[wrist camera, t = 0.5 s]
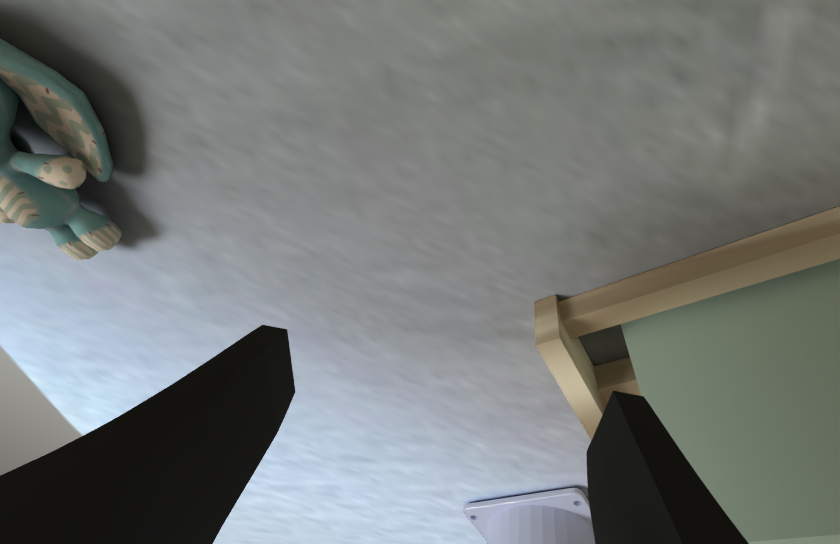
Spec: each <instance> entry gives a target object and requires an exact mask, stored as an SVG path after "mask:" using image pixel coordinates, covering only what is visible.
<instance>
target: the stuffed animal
mask: <svg viewBox="0 0 840 544" xmlns="http://www.w3.org/2000/svg"><path fill="white" fill-rule="evenodd" d="M18 95H19V96H18ZM19 97H20V99H21V100H22V102H23V103H24V105H25V107H26V108H27V110H28V111H29V113H30V114H31V116H32V117H33V119H34V120H35V122H36V123H37V125H38V126H39V127H40V128H41V129H43V130H44V131H45V132H46V133H47V134H48V135H49V136H51V137H52V138H53V139H54V140H55V141H56V142H57V143H59V144H60V145H61V146H62V147H63V148H64V149H65V150H67V151H68V152H69V153H70V154H71V155H72V156H73V157H74V158H72V157H69V156H63V155H48V154H31V153H26V152H20V151H18V150H17V149H16V148H15V147H14V145H13V144H12V142H11V140H10V130H11V127H12V125H13V122H14V120H15V117H16V113H17V109H18V104H19V100H20V99H19ZM86 169H87V170H88V171H89V172H90V173H91V174H92V175H93V176H94V177H95V178H96V179H97V180H99V181H100V182H103V181H108V179H109V178H110V176H111V174H112V171H113V162H112V158H111V154H110V150H109V147H108V143H107V139H106V135H105V132H104V129H103V127H102V125H101V123H100V122H99V120H98V118H97V116H96V114H95V112H94V110H93V108H92V106H91V105H90V103H89V101H88V99H87V97H86V95H85V93H84V92H83V91H82V90H80V89H79V88H78V87H76V86H75V85H74V84H72V83H71V82H70V81H68V80H67V79H65V78H64V77H63V76H62V75H61V74H60V73H59V72H57V71H56V70H54V69H52V68H50V67H49V66H47V65H45V64H43V63H42V62H40V61H38V60H36V59H34V58H33V57H31V56H29V55H27V54H26V53H24V52H22V51H21V50H19V49H17V48H16V47H14V46H12V45H10V44H9V43H7V42H5V41H4V40H2V39H0V223H17V224H19V225H20V226H22V227H25V228H36V229H46V230H47V231H49V232H50V233H51V235H52V237H53V239H54V241H55V243H56V244H57V246H58V247H60V248H61V249H62V250H63V251H64V252H65V253H67V254H68V255H70V256H71V257H73V258H75V259H76V260H83V259H90V258H91V257H93V256H94V255H96V254H97V253H98V252H99V251H102V250H109V249H111V248H112V247H114V246H115V245H116V244H118V242H119V240H120V238H121V235H122V231H121V230H120V229H119V228H118V227H117V226H116V225H115V224H114V223H113V222H112V221H110V220H109V219H107V218H106V217H104V216H103V215H100V214H98V213H96V212H93V211H91V210H89V209H87V208H85V207H83V206H82V205H80V196H79V194H78V192H77V190H76V189H75V188H77V187H80V185H81V184H82V183H83V182H84V180H85V179H86Z"/></svg>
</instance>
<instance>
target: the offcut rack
mask: <svg viewBox="0 0 840 544" xmlns="http://www.w3.org/2000/svg"><path fill="white" fill-rule="evenodd" d="M837 259H840V206H839V207H836V208H833V209H830V210H827V211H824V212H821V213H818V214H815V215H813V216H810V217H807V218H804V219H801V220H798V221H795V222H792V223H789V224H786V225H783V226H780V227H777V228H774V229H771V230H768V231H765V232H762V233H759V234H756V235H754V236H751V237H748V238H745V239H742V240H739V241H736V242H733V243H730V244H727V245H724V246H721V247H718V248H715V249H712V250H709V251H706V252H703V253H700V254H697V255H695V256H692V257H689V258H686V259H683V260H680V261H677V262H674V263H671V264H668V265H665V266H662V267H659V268H656V269H653V270H650V271H647V272H644V273H641V274H638V275H635V276H633V277H630V278H627V279H624V280H621V281H618V282H615V283H612V284H609V285H606V286H603V287H600V288H597V289H594V290H591V291H588V292H585V293H582V294H579V295H576V296H574V297H571V298H568V299H565V300H562V301H559V300H558V299H557V297H556V295H553V296H550V297H547V298H544V299H542V300H539V301H536V302H534V307H535V343H536V347H537V349H538V350H539V352H540V354H541V355H542V357H543V359H544V361H545V362H546V364H547V366H548V367H549V369H550V371H551V372H552V374H553V376H554V378H555V379H556V381H557V383H558V384H559V386H560V388H561V389H562V391H563V393H564V394H565V396H566V398H567V400H568V401H569V403H570V405H571V406H572V408H573V410H574V411H575V413H576V415H577V417H578V418H579V420H580V422H581V423H582V425H583V427H584V428H585V430H586V432H587V434H588V435H589V437H590V439H591V440H592V438H593V436H594V434H595V431H596V429H597V427H598V424H599V422H600V420H601V417H602V415H603V413H604V410H605V408H606V406H607V403H608V401H609V399H610V396H611V394H612V391H618V392H623V393H629V394H634V395H639V396H641V393H640V390H639V386H638V383H637V379H636V376H635V373H634V369H633V366H632V362H631V359H630V357H627V358H623V359H620V360H616V361H612V362H608V363H605V364H601V365H597V366H593V364H592V362H591V360H590V358H589V357H588V355H587V353H586V351H585V349H584V347H583V345H582V343H581V342H580V340H579V338H578V337H579V336H582V335H586V334H589V333H592V332H596V331H599V330H602V329H606V328H609V327H612V326H616V325H619V324H622V323H626V322H629V321H632V320H636V319H639V318H643V317H646V316H649V315H653V314H656V313H659V312H663V311H666V310H669V309H673V308H676V307H679V306H683V305H686V304H689V303H693V302H696V301H700V300H703V299H706V298H710V297H713V296H716V295H720V294H723V293H726V292H730V291H733V290H736V289H740V288H743V287H746V286H750V285H753V284H757V283H760V282H763V281H767V280H770V279H773V278H777V277H780V276H783V275H787V274H790V273H793V272H797V271H800V270H803V269H807V268H810V267H814V266H817V265H820V264H824V263H827V262H830V261H834V260H837Z"/></svg>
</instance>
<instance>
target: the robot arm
mask: <svg viewBox="0 0 840 544" xmlns="http://www.w3.org/2000/svg"><path fill="white" fill-rule="evenodd" d="M294 393H295V386H294V379H293V371H292V363H291V356H290V348H289V341H288V333H287V329H282V328H276V327H271V326H266V325H262V326H260V327H258V328H257V329H255V330H254V331H252V332H251V333H249V334H248V335H246V336H245V337H243V338H242V339H240V340H239V341H237V342H236V343H234V344H233V345H231V346H230V347H228V348H227V349H225V350H224V351H222V352H221V353H219V354H218V355H216V356H215V357H213V358H212V359H210V360H209V361H207V362H206V363H204V364H203V365H201V366H200V367H198V368H197V369H195V370H194V371H192V372H191V373H189V374H188V375H186V376H185V377H183V378H181V379H180V380H178V381H177V382H175V383H174V384H172V385H170V386H169V387H167V388H166V389H164V390H162V391H161V392H159V393H157V394H156V395H154V396H152V397H151V398H149V399H147V400H146V401H144V402H142V403H141V404H139V405H137V406H136V407H134V408H132V409H131V410H129V411H127V412H126V413H124V414H122V415H121V416H119V417H117V418H115V419H113V420H112V421H110V422H108V423H106V424H104V425H103V426H101V427H99V428H97V429H95V430H93V431H92V432H90V433H88V434H86V435H84V436H82V437H80V438H78V439H76V440H74V441H72V442H70V443H68V444H66V445H65V446H63V447H61V448H59V449H57V450H55V451H53V452H51V453H49V454H46V455H44V456H42V457H40V458H38V459H36V460H33V461H31V462H29V463H27V464H25V465H23V466H21V467H18V468H16V469H14V470H12V471H10V472H7V473H5V474H3V475H1V476H0V544H213V542H214V540H215V538H216V536H217V534H218V533H219V531H220V529H221V527H222V525H223V524H224V522H225V520H226V518H227V517H228V515H229V513H230V512H231V510H232V508H233V507H234V505H235V503H236V502H237V500H238V498H239V497H240V495H241V493H242V492H243V490H244V488H245V487H246V485H247V483H248V482H249V480H250V478H251V477H252V475H253V473H254V472H255V470H256V468H257V466H258V465H259V463H260V461H261V460H262V458H263V456H264V455H265V453H266V451H267V449H268V448H269V446H270V444H271V443H272V441H273V439H274V437H275V436H276V434H277V432H278V430H279V428H280V426H281V423H282V421H283V419H284V417H285V415H286V412H287V410H288V408H289V405H290V403H291V401H292V398H293V396H294ZM587 479H588V497H589V501H588V499H587V498H586V496H585V495H584V493H583V492H582V491H581V490H580V489H578V488H567V489H561V490H554V491H547V492H541V493H534V494H528V495H521V496H515V497H508V498H501V499H495V500H488V501H482V502H475V503H469V504H465V505H464V509H463V513H464V514H465V515H466V517H467V518H468V519H469V520H470V521H471V523H472V524H473V525H474V526H475V527H476V529H477V530H478V531H479V532H480V533H481V535H482V536H483V537H484V538H485V539H486V541H487V544H749V543H748V542H747V540H746V539H745V538H744V537H743V535H742V534H741V533H740V532H739V530H738V529H737V528H736V526H735V525H734V524H733V522H732V521H731V520H730V518H729V517H728V516H727V514H726V513H725V512H724V510H723V509H722V508H721V506H720V505H719V503H718V502H717V501H716V499H715V498H714V497H713V495H712V494H711V492H710V491H709V490H708V488H707V487H706V486H705V484H704V483H703V481H702V480H701V479H700V477H699V476H698V475H697V473H696V472H695V470H694V469H693V467H692V466H691V465H690V463H689V462H688V460H687V459H686V457H685V456H684V454H683V453H682V452H681V450H680V449H679V447H678V446H677V444H676V443H675V441H674V440H673V438H672V437H671V435H670V434H669V432H668V431H667V430H666V428H665V427H664V425H663V424H662V422H661V421H660V419H659V418H658V416H657V415H656V413H655V412H654V410H653V409H652V407H651V406H650V405H649V403H648V402H647V400H646V399H645V397H644V396H639V395H634V394H629V393H623V392H618V391H612V394H611V396H610V399H609V401H608V403H607V406H606V408H605V410H604V413H603V415H602V417H601V420H600V422H599V424H598V427H597V429H596V431H595V434H594V436H593V438H592V441H591V443H590V445H589V448H588V450H587Z"/></svg>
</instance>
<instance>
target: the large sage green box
mask: <svg viewBox="0 0 840 544" xmlns="http://www.w3.org/2000/svg"><path fill="white" fill-rule="evenodd" d="M621 327H622V331H623V334H624V338H625V341H626V345H627V348H628V352H629V355H630V359H631V362H632V366H633V369H634V373H635V376H636V379H637V383H638V386H639V390H640V393H641V396H644V397H645V399H646V400H647V402H648V403H649V405H650V406H651V407H652V409H653V410H654V412H655V413H656V415H657V416H658V418H659V419H660V421H661V422H662V424H663V425H664V427H665V428H666V430H667V431H668V432H669V434H670V435H671V437H672V438H673V440H674V441H675V443H676V444H677V446H678V447H679V449H680V450H681V452H682V453H683V454H684V456H685V457H686V459H687V460H688V462H689V463H690V465H691V466H692V467H693V469H694V470H695V472H696V473H697V475H698V476H699V477H700V479H701V480H702V481H703V483H704V484H705V486H706V487H707V488H708V490H709V491H710V492H711V494H712V495H713V497H714V498H715V499H716V501H717V502H718V503H719V505H720V506H721V508H722V509H723V510H724V512H725V513H726V514H727V516H728V517H729V518H730V520H731V521H732V522H733V524H734V525H735V526H736V528H737V529H738V530H739V532H740V533H741V534H742V535H743V537H744V538H745V539H746V540H747V542H748V543H749V544H840V259H837V260H834V261H830V262H827V263H824V264H820V265H817V266H814V267H810V268H807V269H803V270H800V271H797V272H793V273H790V274H787V275H783V276H780V277H777V278H773V279H770V280H767V281H763V282H760V283H757V284H753V285H750V286H746V287H743V288H740V289H736V290H733V291H730V292H726V293H723V294H720V295H716V296H713V297H710V298H706V299H703V300H700V301H696V302H693V303H689V304H686V305H683V306H679V307H676V308H673V309H669V310H666V311H663V312H659V313H656V314H653V315H649V316H646V317H643V318H639V319H636V320H632V321H629V322H626V323H622V324H621Z"/></svg>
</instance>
